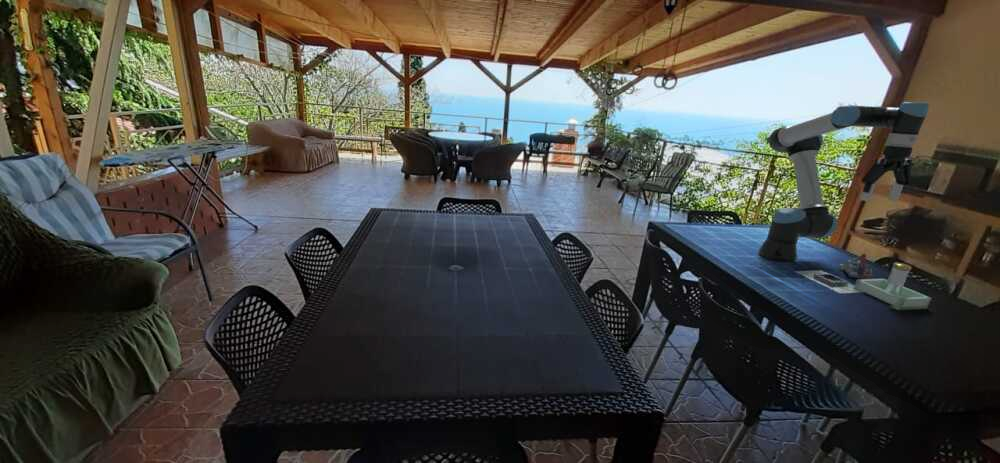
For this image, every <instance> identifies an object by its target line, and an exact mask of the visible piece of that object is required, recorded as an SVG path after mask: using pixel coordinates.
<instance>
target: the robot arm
mask: <svg viewBox="0 0 1000 463" xmlns="http://www.w3.org/2000/svg"><path fill="white" fill-rule="evenodd" d="M929 107H930V105H929V103H927V102H916V101H914V102H912V101H910V102H909V101H904V102H901V103H900V104H899V107H891V106H889V107H887V106H866V105H854V104H853V105H852V104H847V105H840V106H838V107H837V108H836V109H834V110H833V111H832V112H831V113H827V114H824V115H821V116H818V117H816V118H813V119H809V120H806V121H803V122H801V123H798V124H795V125H785V126H782V127H779V128H776V129H775V130H774V131H772V133H771V134H770V135H769V137H768V145H769V147H770V148H771V149H772V150H773V151H775V152H778V153H785V154H787V157H788V160H790V161H792V162H793V164H792V165H793V170H794V177H795V184H796V188H797V194H798V201H799V208H795V207H794V208H792V207H781V208H778V209H776V210H775V211H774V214H773V216H772V217H771V224H770V226H769V230H768V234H767V237H766V239H765V240H764V242H763V243H762V245H761V246H760V247H759V249H758V252H757V253H758V255H759V256H761V257H763V258H765V259H768V260H772V261H774V262H780V263H789V262H791V263H792V262H793V263H794V262H797V259H798V254H797V250H798V249H797V243H798V240H799V238H810V239H811V238H813V239H814V238H815V239H820V238H828V237H830V236H832V235H833V234H834V232H835V231H836V230H837V228H838V223H839V222H838V218H837V216H836V215H834V213H831V212H830V210H829V207H828V206H827V205H825V204H824V202H823V196H822V195H823V194H822V189H821V184H820V176H819V172H818V166H817V159H816V157H817V156H818V155H819V152H820V151H821V149H822V146H823V144H824V137H823V135H825V134H829V133H831V132H836V131H838V130H842V129H846V128H850V127H863V128H864V127H867V128H884V129H887V128H888V129H891V130H890V133H889V135H888V137H887V140H886V143H885V144H887V145H885V146H884V149H883V151H882V155H883V156H884V157H883V158H882V157H877V158H876V159H875V161H874V163H873V164H872V166H870V168H869V169H868V171H867V172H866V174H865V175H864V176H863V177H862V179H861V180H860V181H861V182H862V183H863V184H864V186H863V189H862V193H861V196H860V201H864V202H870V200H871V197H872V194H873V192H874V189H875V186H876V184H875V183H877V181H878V180H879V179H880V178H882V176H884V174H886V173H888V172H890V171H891V172H893V176H894V178H895V182H896V183H893V186H892V189H891V190H890V194H889V197H888V199H887V200H888V201H891V202H898V200H899V198H900V195H901V193H902V191H903V189H904V186H908V185H909V184H910V183H911V181H912V179H911V177H912V176H911V172H912V171H911V170H912V168H911V167H912V166H911V165H912V162H913V159H910V157H911V154H912V152H913V149H914V148H913V146H915V144H916V141H917V138H918V136H919V134H920V131H921V128H922V126H923V124H924V122H925V119H926V118H927V115H928V110H929Z"/></svg>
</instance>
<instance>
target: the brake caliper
mask: <svg viewBox="0 0 1000 463" xmlns="http://www.w3.org/2000/svg"><path fill="white" fill-rule="evenodd" d="M866 261H867V254H866V253H865V252H864V253H862V254H861V255H860V256H859V257H852V259H848V260H845V262H844V264H843V263H840V264H838V266H839V268H841V270H842V272H845V273H846V274H847V275H848V277H851V278H854V279H858V280H862V279H873V270H872V269H871V268H869V266H868V265H867V262H866Z"/></svg>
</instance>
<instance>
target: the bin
mask: <svg viewBox="0 0 1000 463" xmlns="http://www.w3.org/2000/svg"><path fill="white" fill-rule="evenodd" d="M887 281H888V279H885V278H872V279H856V281H855V284H854V285H855V286H854V288H856V289H859V290H861V291H863V292H862V293H865V294H867V295H870V296H871V297H875V298H876V299H878V300H880V301H883V302H885V303H887V304H888V307H890V308H892V309H894V310H897V311H908V310H926V309H928V306H929V304H930V302H931V300H932V297H930V296H927V295H925V294H922V293H920V292H918V291H916V290H913V289H910V288H908V287H906V286H903V287H902V290H901V292H900V294H899V296H897V295H894V294H892V293H890V292H887V291H885V290H884V288H885V285H886V283H887Z"/></svg>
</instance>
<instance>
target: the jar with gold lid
mask: <svg viewBox="0 0 1000 463" xmlns="http://www.w3.org/2000/svg"><path fill="white" fill-rule="evenodd" d="M912 269H913V266H911V265H909V264H906V263H902V262H894V263H893V264H892V269H891V271H890V273H889V276H888V278H887V280H888V281H887V283H886V285H885V288H884V290H885V291H887V292H890V293H892V294H894V295H897V296H899V294H900V292H901V290H902V287H904V284H905V282H906V280H907V278H908V276H909V273H910V271H911V270H912Z"/></svg>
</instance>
